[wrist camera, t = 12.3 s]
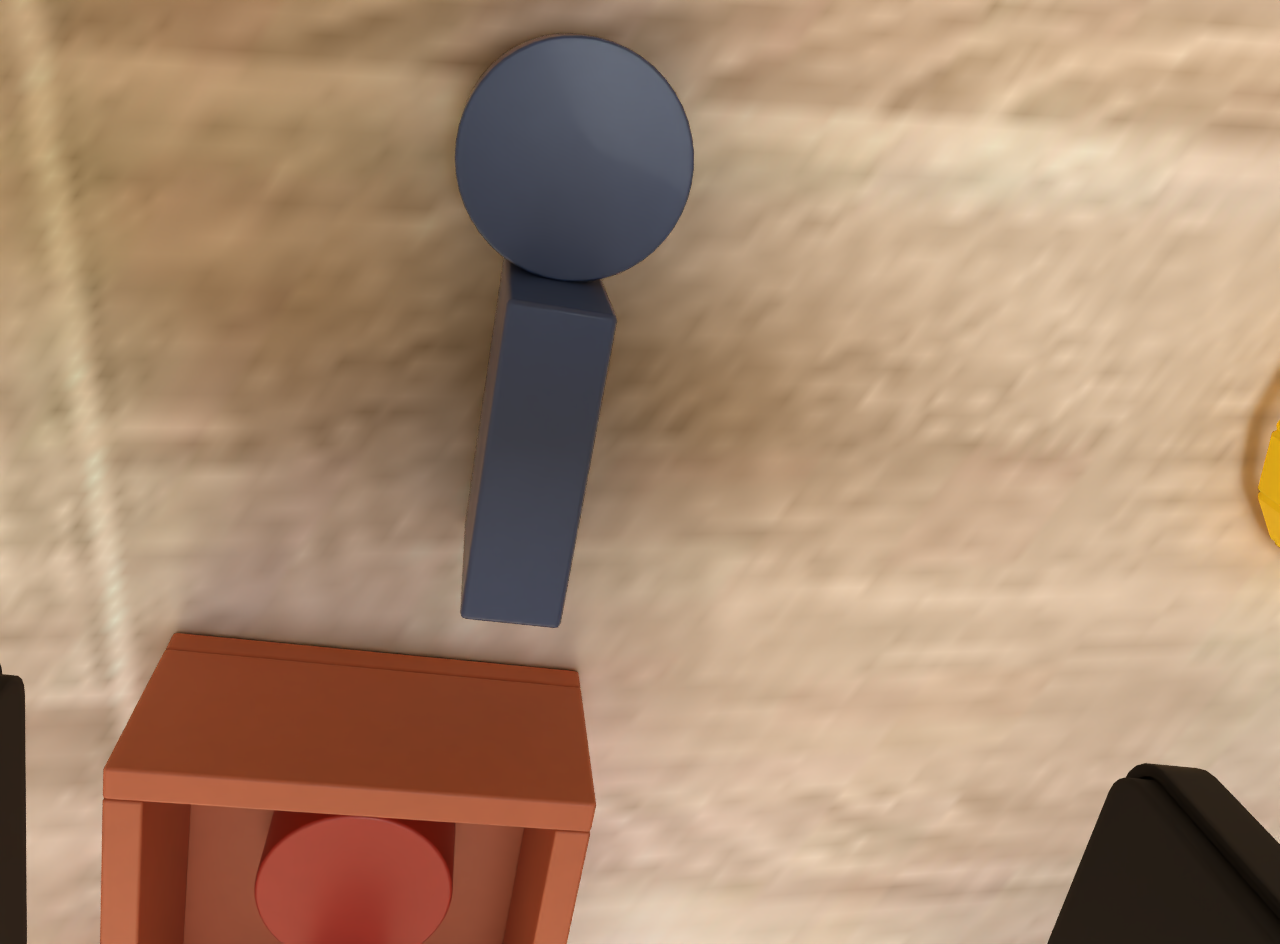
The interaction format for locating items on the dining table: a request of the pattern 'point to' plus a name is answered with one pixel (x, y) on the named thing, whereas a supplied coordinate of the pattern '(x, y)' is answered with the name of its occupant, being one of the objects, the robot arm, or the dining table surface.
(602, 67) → the blue spoon
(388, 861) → the red disc on stick
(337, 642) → the dining table surface
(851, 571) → the dining table surface
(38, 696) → the dining table surface
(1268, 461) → the watch
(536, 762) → the red bin
